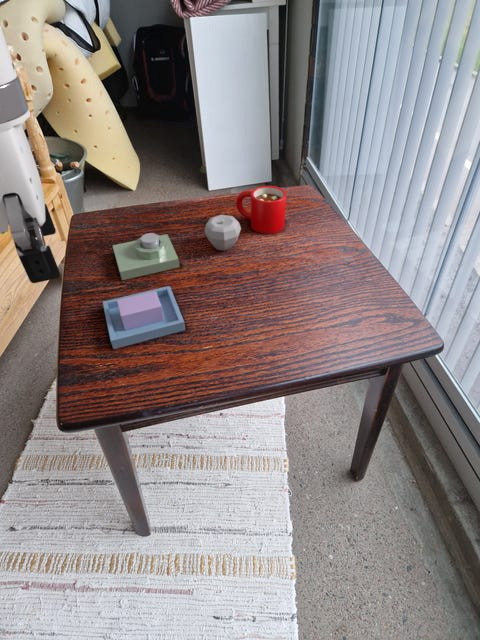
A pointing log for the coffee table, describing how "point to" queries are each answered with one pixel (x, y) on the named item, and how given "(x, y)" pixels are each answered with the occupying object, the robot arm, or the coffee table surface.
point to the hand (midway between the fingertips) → (44, 255)
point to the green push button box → (145, 258)
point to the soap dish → (128, 337)
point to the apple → (222, 231)
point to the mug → (264, 208)
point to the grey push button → (149, 241)
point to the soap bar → (140, 310)
